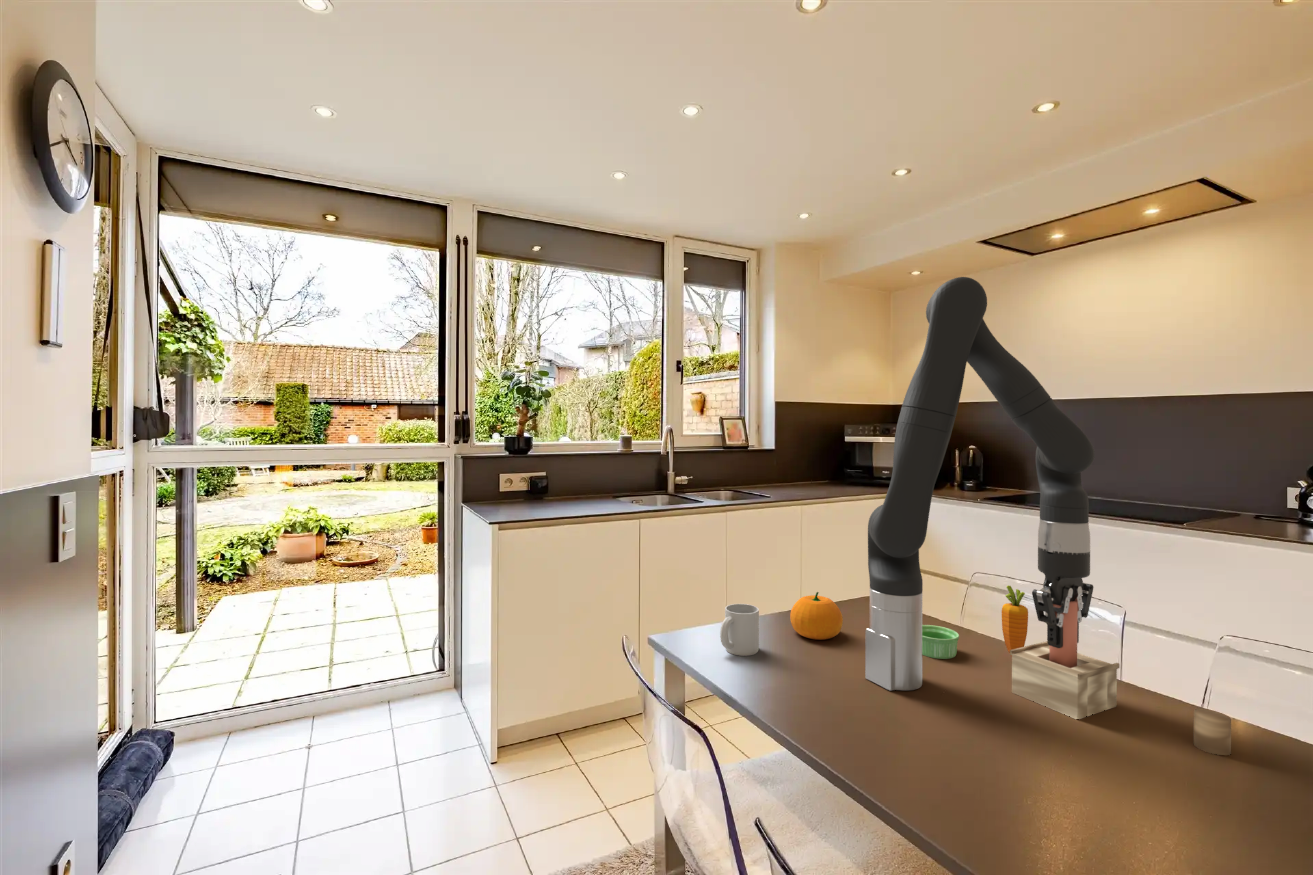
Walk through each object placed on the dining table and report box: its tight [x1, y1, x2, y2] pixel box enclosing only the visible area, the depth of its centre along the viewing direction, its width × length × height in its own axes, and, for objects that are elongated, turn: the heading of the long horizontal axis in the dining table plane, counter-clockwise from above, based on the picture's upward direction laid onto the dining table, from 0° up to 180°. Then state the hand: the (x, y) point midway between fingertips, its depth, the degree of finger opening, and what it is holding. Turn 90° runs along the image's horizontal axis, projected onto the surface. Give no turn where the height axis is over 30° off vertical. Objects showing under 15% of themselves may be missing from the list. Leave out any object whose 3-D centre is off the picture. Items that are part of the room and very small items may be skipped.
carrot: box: [1001, 585, 1029, 658], centre depth 120 cm, size 5×5×15 cm
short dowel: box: [1193, 708, 1232, 756], centre depth 87 cm, size 4×4×5 cm
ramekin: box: [922, 624, 960, 660], centre depth 124 cm, size 9×9×4 cm
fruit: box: [789, 591, 844, 641], centre depth 135 cm, size 12×12×10 cm
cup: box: [719, 603, 760, 657], centre depth 125 cm, size 7×10×9 cm
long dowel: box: [1049, 601, 1078, 668], centre depth 102 cm, size 4×4×12 cm
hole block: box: [1009, 641, 1120, 720], centre depth 102 cm, size 11×12×8 cm
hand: (1062, 643), depth 102 cm, fingers closed on long dowel, 4 cm apart
